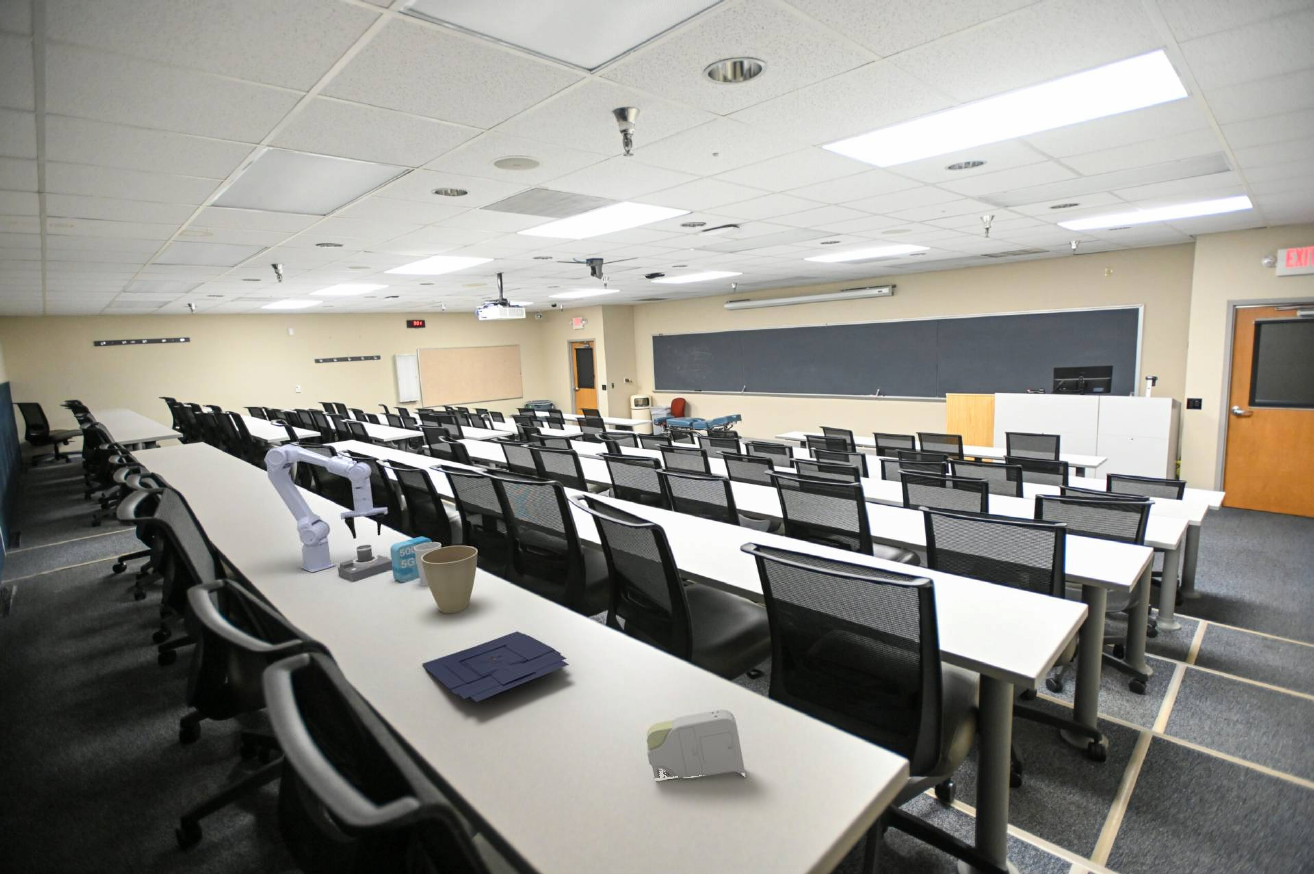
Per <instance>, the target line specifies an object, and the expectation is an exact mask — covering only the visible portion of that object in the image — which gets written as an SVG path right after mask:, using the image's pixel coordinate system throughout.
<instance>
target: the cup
mask: <svg viewBox="0 0 1314 874" xmlns="http://www.w3.org/2000/svg"><path fill="white" fill-rule="evenodd" d="M439 548H442V544H441V542H436V541H433V542H429V543H423V544H420V545H417V546H415V547H414V551H415V556H416V561H417V566H418V572H419V582H420V583H419V584H420V586H421V587H425V588H426V587H428V588H429V585H428V582H427V579H426V576H425V572H424V568H423V564H422V560H421V557H422V556H423V555H424V554H425V553H427V552H430V551H432V550H435V549H439Z"/></svg>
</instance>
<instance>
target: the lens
mask: <svg viewBox="0 0 1314 874" xmlns="http://www.w3.org/2000/svg"><path fill="white" fill-rule="evenodd" d="M355 549H356V554H357V555H356V556H357V558H358V563H362V562H368V561H372V560H373V558H372V556H373V552H372V551H373V549H372V545H371V544H364V545H363V544H362V545H359V546H357V547H356V548H355Z"/></svg>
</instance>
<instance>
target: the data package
mask: <svg viewBox="0 0 1314 874" xmlns="http://www.w3.org/2000/svg"><path fill="white" fill-rule="evenodd" d="M432 541H433V540H431V538H428V537H425V536H418V537H415V538H414V537H413V538H410V539H407V540H403V541H399V542H396V543H393V544H392V545H391V546H390V549H389V550H390V551H389V552H390V559H391V560H392V577H393V579H395V580H396V581H398V582H401V583H407V582H409V581H412V580H415V579H418V578H419V579H420V577H419V572H418V566H417V561H416V556H415V551H414V547H415V546H417V545H420V544H423V543H429V542H432Z"/></svg>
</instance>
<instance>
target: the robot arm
mask: <svg viewBox="0 0 1314 874" xmlns="http://www.w3.org/2000/svg"><path fill="white" fill-rule="evenodd" d="M263 462H264V463H265V464H266V470H267V471H266V472H267V477H268V480H269V482H270V483H271V485H273V487H274V489H275V490H276V492H277V493H278V495H279V497H280V499H282V501H283V502H284V504H285V505H286V506H287V509H288V510H289V512H290V514H292V516H293V517H294V519H295V521H296V530H297V532H298V534H299V540H300V542H301V543H302V548H301V553H302V554H301V555H302V561H303V565H301V566H300V568H301V569H304V570H306V571H308V572H310V573H316V572H319V571H322V570H325V569H329V568H333V567H336V566H337V564H336V563H334V562H331V561H332V560H331V554H330V553H331V552H330V546H329V545H330V544H329V539H328V536H329V534H330V533H331V527H330V525H329V523H328V522H326V521H324V519H322V518H321V516H320V515H318V514H316V513H314V512H313V510H312V509H311V507H310V506H309V505H308V503H307V501H306V499H304V497H303V495H302V494H301V492H300V491H299V490H298V488H297V486H296V485H295V483H294V481H293V480H292V478H291V477H290V475H289V473H290V470H291V468H292V466H293V464H294V463H296V462H305V463H309V464H312V465H316V466H319V467H320V466H321V467H325V468H326V470H327V472H328V473H332V474H335V475H337V476H341V477H344V478H348V479H349V481H350V482H351V489H352V497H353V507H354V510H352V511H351V510H349V511H345V512H340V519H341V520H344V523H345V525H346V526H347V527H348V529H349V531H350V532H351V533H350V534H352V535H351V536H352V538H353V540H355V539H357V533H356V528H355V526H356V525H355V518H360V517H361V518H362V517H368V516H375V518H376V519H375V520H376V526H377V536H381V527H382V523H383V520H384V517H385V515H388V513H389V511H388V507H387V506H386V507H374V506H373V505H374V504H373V496H372V488H371V480H370V476H371V474H372V468H371V466H370V465H369V464H368V463H366V462H364V461H363V462H362V461H361V462H358V463H357V461H356V460H349V459H347V458H344V456H342V455H338V456H336V455H334V456H332V457H328V456H326V455H322V454H320V453H317V452H314V451H312V450H309V449H306V448H303V447H302V446H299V445H294V444H288V443H287V444H284V445H282V446H279V447H272V448H270V449H269V450H268V451H267V453H266V455H265V457H264V460H263Z"/></svg>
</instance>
